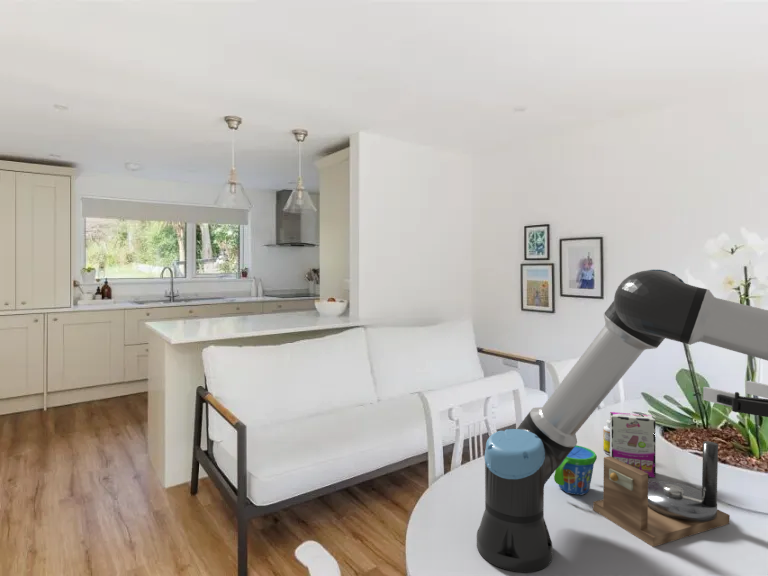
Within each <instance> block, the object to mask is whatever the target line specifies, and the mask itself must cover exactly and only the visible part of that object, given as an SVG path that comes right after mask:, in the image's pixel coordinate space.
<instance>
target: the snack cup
mask: <svg viewBox="0 0 768 576" xmlns="http://www.w3.org/2000/svg"><path fill="white" fill-rule="evenodd" d="M597 459H598V458H597V454H596V452H595V451H593V450H592V449H590V448H588V447H585V446H581V445H577V444H576V446H575V447H574V448H573V449H572V451H571V452H570V453H569V454H568V455H567V457H566V458H565V459H564V461H563V462H562V464H561V465H560V466H559V467H558V468H557V469H556V470H555V471H554V476H553V479H554V482H555V483H556V484H557V485H558V487H559V488H560V489H561V490H562V491H564V492H565V493H568V494H572V495H581V496H582V495H584V494H585V495H586V494H587V493H588V492H589V491H590V488H591V483H592V478H593V472H594V465H595V462H596V461H597Z"/></svg>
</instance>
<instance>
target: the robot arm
mask: <svg viewBox="0 0 768 576" xmlns="http://www.w3.org/2000/svg"><path fill="white" fill-rule="evenodd" d="M603 318H604V322H605V325H603V328H601V330H600V331H599V332H598V334H597V335H596V336H595V337H594V338H593V340H592V342H591V343H590V344H589V346H588V347H586V349H585V351H584V352H583V353H582V355H581V356H580V357H579V359H578V360H577V361H576V362H575V363H574V366H572V368H571V369H570V370H569V372H568V373H567V374H566V376H565V377H564V378H563V380H561V382H560V383H559V385H558V386H557V387H556V389H554V391H553V392H552V394H551V395H550V397H549V398H548V399H547V401H546V402H545V403H544V404H543V406H542V407H541V406H540V407H533V408H531V410H530V411H529V412H528V414H527V415H526V416H525V417H524V418H523V420H522V421H521V423H519V425H518V427H517V428H506V429H505V430H499V431H496V432H494V433H492V434H491V435H490V436H489V437H488V438H487V440H486V443H485V451H484V485H485V486H484V489H485V490H484V499H485V501H484V502H485V505H484V507H485V508H484V511H483V515H482V517H481V521H480V525H479V527H478V529H477V532H476V549H477V551H478V552H479V554H480V556H481V557H482V558H483V559H485V560H486V561H487V562H489V563H490V564H492V565H494V566H495V567H498V568H501V569H504V570H506V571H510V572H517V573H533V572H537V571H541V570H543V569H544V568H547V567H548V566H549V565H550V564H551V563H552V561H553V542H552V539H551V536H550V532H549V530H548V525H547V523H546V520H545V517H544V507H545V506H544V503H545V502H544V501H545V498H544V496H545V494H544V493H545V485H546V483H547V482H548V480H549V479H550V478H551V477H552V475H553V474H555V470H556V469H557V468H558V467H559V466H560V465H561V464H562V462H563V461H564V459H565V458H566V457H567V455H568V454H569V453H570V452H571V451H572V449H573V448H574V447H575V446H576V445H577V444H578V438H577V435H576V434H577V433H578V431H579V430H580V429H581V427H582V426H583V425H584V424H585V423H586V422H587V420H588V419H589V418H590V417H591V415H592V414H594V412H595V411H596V410H597V408H598V407H599V406H600V405H601V403H603V401H604V400H605V398H606V397H607V396H608V395H609V394H610V392H611V391H612V390H613V389H614V387H615V386H616V385H617V384H618V382H619V381H620V380H621V379H622V378H623V377H624V375H625V374H626V373H627V372H628V370H629V369H630V368H631V367H632V366H633V364H634V363H635V362H636V361H637V359H639V357H640V356H641V354H642V353H643V352H644V351H645V350H653V349H654V350H655V349H658V347H659V346H660V345H662V343H663V341H664V340H665V339H667V340H671V341H675V342H677V343H678V342H680V343H683V344H686V345H688V346H690V345H693V344H697V343H700V342H701V343H704V344H708V345H711V346H714V347H718V348H722V349H726V350H729V351H733V352H737V353H740V354H743V355H745V356H749V357H750V356H751V357H754V358H757V359H760V360H761V359H762V360H765V361H768V309H764V308H761V307H755V306H751V305H746V304H743V303H739V302H735V301H730V300H727V299H723V298H718V297H715V296H714V294H713V293H712V292H711V290H710V289H707V288H704V287H703V288H702V287H699V286H695V285H691V284H688V283H686V282H685V281H684V280H683V279H681V278H680V277H678V276H677V275H676V274H674V273H672V272H669V271H668V270H664V269H648V270H642V271H637V272H635V273H633V274H630V275H629V276H627V277H626V278H624V279H623V280H622V281H621V283H620V284H619V285H618V286H617V289H616V290H615V292H614V298H613V301H612V302H611V304H610V305H609V306H608V308H606V311H605V312H603ZM702 388H703V390H702V395H703V396H702V400H703V401H706V402H710V403H714V404H717V405H722V406H726V407H730V408H731V412H734V413H741V414H746V415H752V416H758V417H765V418H768V384H765V383H761V382H756V381H751V380H746V381H745V394H747V395H752V396H755V397H750V396H741V395H740V392H738V391H735V392H730V391H726V390H722V389H718V388H713V387H708V386H703V387H702ZM756 396H757V397H756ZM760 397H761V398H760Z"/></svg>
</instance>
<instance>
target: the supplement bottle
mask: <svg viewBox="0 0 768 576" xmlns="http://www.w3.org/2000/svg"><path fill="white" fill-rule="evenodd" d="M605 423H606V424H605V425H604V426H603V440H602V441H603V453H605V454H606V455H608V456H610V419H606V421H605Z"/></svg>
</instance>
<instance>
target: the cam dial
mask: <svg viewBox="0 0 768 576" xmlns="http://www.w3.org/2000/svg"><path fill="white" fill-rule="evenodd" d="M718 463H719V444H718V443H717V442H713V441H708V440H704V441H703V442H702V467H701V468H702V474H701V475H702V476H701V477H702V480H701V490H700V489H698V488H694V487H692V486H689V485H686V484H682V483H678V482H671V481H660V480H659V481H651V482H649V481H648V506H649V507H650V508H652V509H654V510H655V511H657V512H659V513H662V514H664V515H667V516H670V517H673V518H677V519H681V520H687V521H696V522H703V521H710V520H713V519H714V518H716V516H717V509H718V502H717V501H718V469H719V467H718V466H719V464H718Z"/></svg>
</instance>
